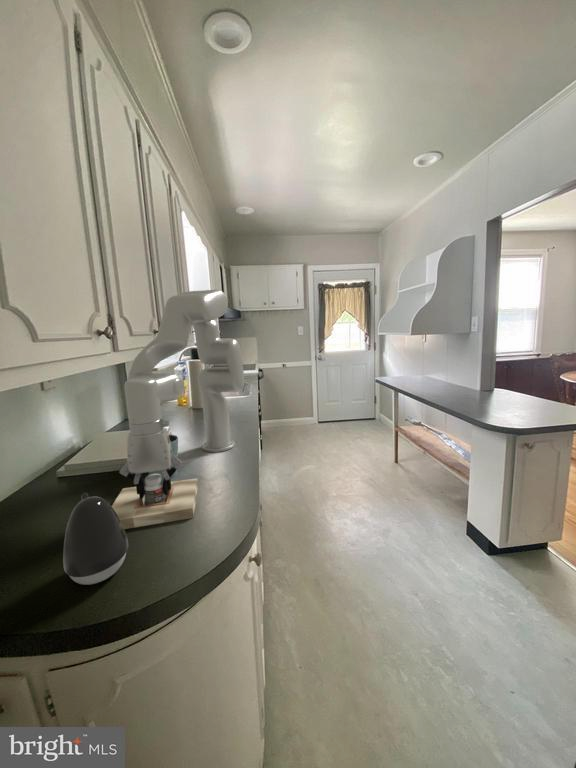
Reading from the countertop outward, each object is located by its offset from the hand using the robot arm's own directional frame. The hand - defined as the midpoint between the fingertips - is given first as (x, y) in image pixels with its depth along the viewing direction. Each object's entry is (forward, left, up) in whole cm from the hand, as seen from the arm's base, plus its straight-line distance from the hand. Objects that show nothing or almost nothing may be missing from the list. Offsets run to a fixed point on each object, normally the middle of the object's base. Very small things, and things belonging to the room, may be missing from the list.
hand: (155, 493), depth 78 cm
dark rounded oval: (+21, -6, -4) cm, 22 cm away
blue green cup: (-19, -1, -4) cm, 19 cm away
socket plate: (0, 0, -4) cm, 4 cm away
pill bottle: (0, 0, -4) cm, 4 cm away
